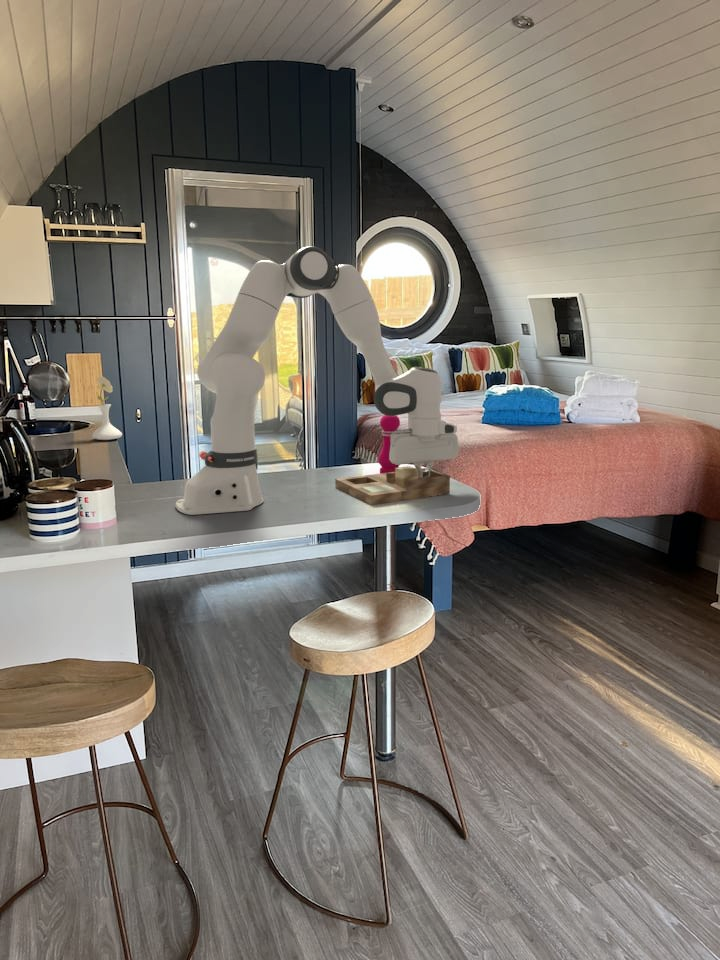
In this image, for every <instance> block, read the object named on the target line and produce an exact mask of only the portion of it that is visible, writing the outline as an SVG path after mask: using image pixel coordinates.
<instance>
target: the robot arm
mask: <svg viewBox="0 0 720 960" xmlns="http://www.w3.org/2000/svg"><path fill="white" fill-rule="evenodd" d="M238 291H239V292H238V293H237V295H236V299H235V301H234V304H232V305H233V306H232V309H231V311H230V312H229V315H228V317H227V320H226V323H225V324H224V326H223V327H222V329H221V330H220V332H219V334H218V336H217V337H216V339H215V340H214V342H213V344H212V345H211V347H210V348H209V350H208V352H207V353H206V355H204V356H203V357H202V358H201V359H200V361H199V362H198V365H197V368H196V373H197V377H198V380H199V382H200V383H201V384H202V385H203V387H204V388H206V389H207V390H208V391H209V392H212V393H213V394H216V395H215V396H216V398H215V404H214V405H215V406H214V411H213V414H212V416H211V418H210V421H209V422H210V439H211V442H210V443H211V450H210V451H208V452H206V451H203V450H202V451H200V453H199V454H198V455H199V458H200V459H201V460H203V461H204V466H203V467H202V468H201V469H200V470H198V472H196V473H195V474H194V475H193V476H191V477H190V478H189V479H188V480H187V481H186V483H185V486H184V492H183V493H184V494H183V498H181V499H178V500H176V502H175V508H176V510H177V511H179V512H181V513H182V514H185V515H189V516H190V515H191V516H193V515H194V516H195V515H206V514H220V513H233V512H234V513H235V512H245V511H250V510H252V509H253V508H254V507H257V506H259V505H261V504H262V503H264V498H263V495H262V491H261V487H260V482H259V478H258V466H259V458H258V457H259V456H258V449H257V448H256V442H255V441H256V438H255V435H256V434H255V416H256V409H257V403H258V399H259V398H258V397H259V394H260V391H261V390H262V389H263V386H264V383H265V380H266V375H265V374H266V373H265V370H264V367H263V366H262V365H261V363H260V362H259V361H258V360H256V359H255V358H254V357H255V355H256V354H257V352H258V351H259V350H260V348H261V347H262V346H264V345H265V343H267V341H269V340H268V339H269V338H270V335H271V332H272V330H273V328H274V325H275V323H276V320H277V317H278V314H279V312H280V310H281V307H282V304H283V302H284V301H285V299H286V297H290V298H291V297H292V298H296V299H305V298H309V297H311V296H313V295H315V294H319V295H321V296H322V297H324V299H325V300H326V301H327V303H328V304H329V305H330V309H331V312H332V313H333V315H334V319H335V321H336V322H337V325H338V326H339V328H340V330H341V331H342V333H343V335H344V336H345V337H346V338H347V340H349V341H350V342H351V343H352V344H354V345H355V347H357V349H358V350H359V351H360V352H361V353H360V354H362V356H363V358H364V360H365V363H366V365H367V367H368V369H369V371H370V374H371V376H372V378H373V382H374V395H373V402H374V407H376V409H377V410H378V412H380V413H381V414H382V415H383V416H384V415H387V416H397V417H398V416H399V415H405V414H406V415H408V418H407V419H408V420H407V425H408V426H407V428H405V429H397V430H396V431H395V432H393V433H392V435H391V446H390V455H389V459H390V461H391V462H392V463H393V464H396V465H399V466H401V465H409V464H413V465H414V468H416V469H418V477H419V478H426V477H430V471H431V470H433V467H434V465H435V462H437V461H447V460H454V459H457V457H458V455H459V438H458V435H457V434H456V433H457V430H458V426H457V425H455V424H452V423H448V422H446V421H444V420H442V413H441V409H440V407H441V404H442V380H441V377H440V374H439V373H438V372H437V371H436V370H435V369H433V368H429V367H424V366H413V367H411V368H410V369H409V370H407V371H405V372H404V373H402V374H400V375H399V374H398V373H397V372H396V369H395V368H394V365H393V364H392V361H391V359H390V357H389V355H388V352H387V350H386V348H385V345H384V342H383V338H382V329H381V322H380V316H379V313H378V310H377V309H378V308H377V307H376V304H375V301H374V298H373V296H372V294H371V292H370V290H369V288H368V286H367V284H366V282H365V280H364V279H363V277H362V275H361V273H360V272H359V271H358V269H357V268H356V267H355V266H353V265H351V264H347V263H346V264H339V263H338V262H337V261H336V260H334V259H333V258H331V256H330V255H329V254H328V253H327V252H326V251H325V250H323V249H322V248H319V247H317V246H304V247H302V248H300V249H298V250H297V251H296V252H294V253H293V254H292V255H291V256H290V257H288V259H286V261H285V262H283V264H282V263H277V262H275V261H272V260H264V259H263V260H259V261H257V262H255V263H254V265H253V266H252V268H251V269H250V271H249V272H248V274H247V275H246V277H245V279H244V281H243V283H242V284H241V286H240V289H239V290H238ZM395 433H396V434H395ZM424 462H425V464H426V466H425V467H424V468H425V470H422V469H423V463H424Z"/></svg>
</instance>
